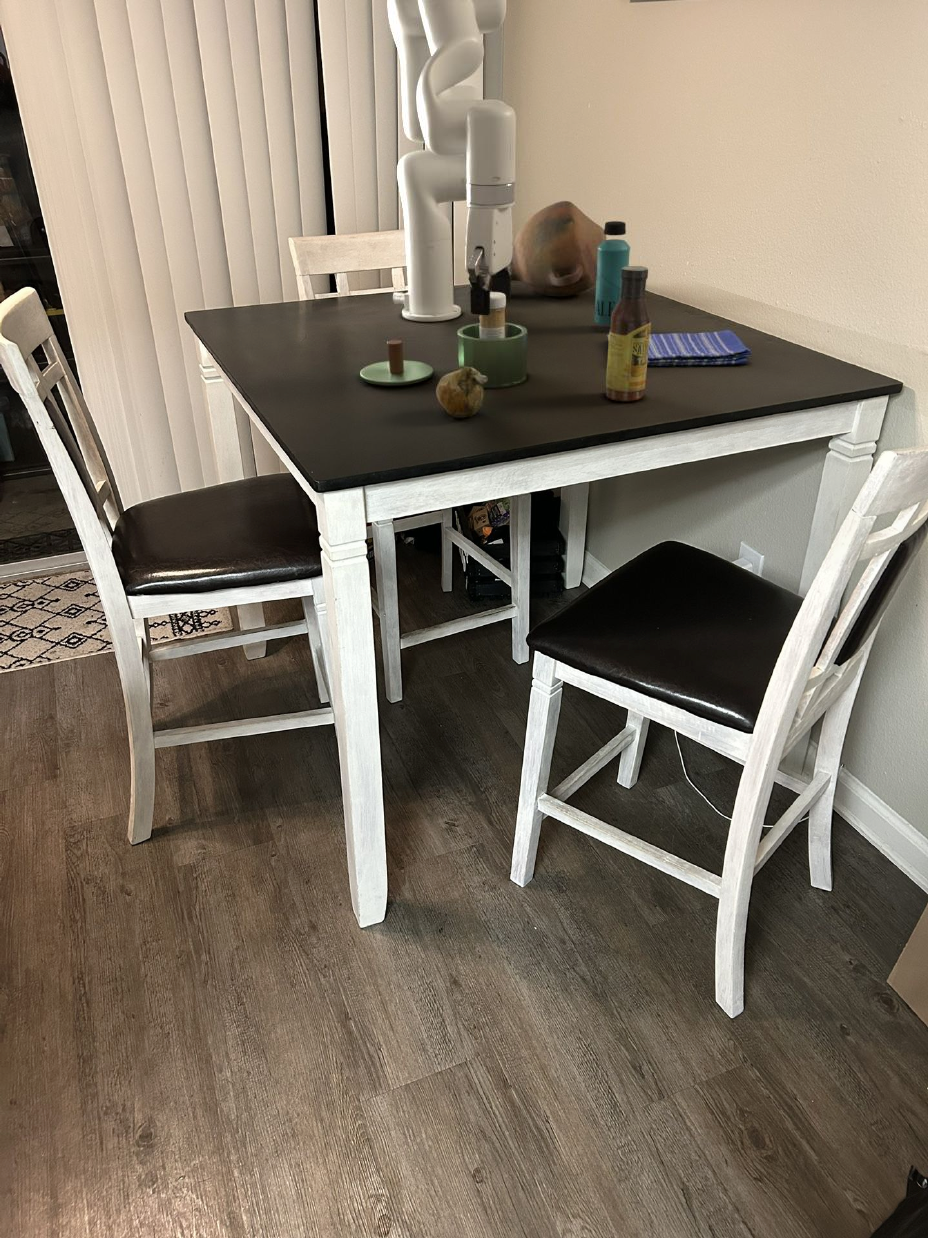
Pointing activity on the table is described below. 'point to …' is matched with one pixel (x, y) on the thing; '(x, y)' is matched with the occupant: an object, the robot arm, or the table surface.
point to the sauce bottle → (629, 338)
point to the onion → (461, 392)
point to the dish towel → (696, 349)
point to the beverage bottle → (610, 272)
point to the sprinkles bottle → (494, 318)
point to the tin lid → (396, 369)
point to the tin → (495, 355)
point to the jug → (557, 251)
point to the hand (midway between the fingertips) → (491, 306)
